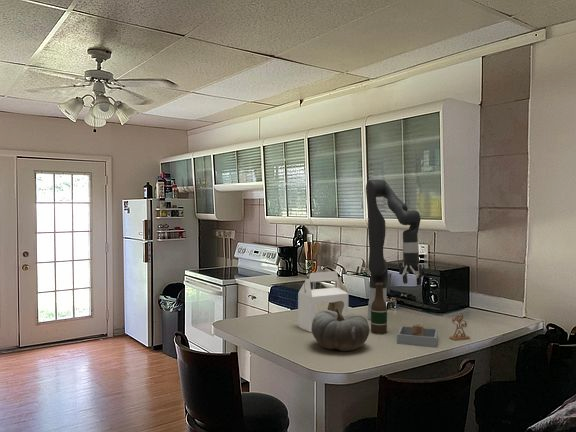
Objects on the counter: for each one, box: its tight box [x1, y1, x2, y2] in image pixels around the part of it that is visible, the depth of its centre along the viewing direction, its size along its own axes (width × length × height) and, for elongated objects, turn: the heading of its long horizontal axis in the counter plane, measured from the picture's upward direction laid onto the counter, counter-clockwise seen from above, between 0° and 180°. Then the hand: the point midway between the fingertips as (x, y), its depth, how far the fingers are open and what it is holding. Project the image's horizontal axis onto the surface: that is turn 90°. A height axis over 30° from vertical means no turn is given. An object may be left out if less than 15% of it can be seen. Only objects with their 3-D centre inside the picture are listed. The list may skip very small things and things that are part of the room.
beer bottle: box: [370, 283, 388, 335], centre depth 239 cm, size 8×8×24 cm
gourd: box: [311, 308, 371, 352], centre depth 215 cm, size 25×25×17 cm
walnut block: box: [411, 323, 424, 336], centre depth 225 cm, size 4×4×7 cm
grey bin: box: [396, 325, 439, 348], centre depth 225 cm, size 17×17×4 cm
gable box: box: [297, 270, 349, 334], centre depth 248 cm, size 22×13×28 cm, turn 118°
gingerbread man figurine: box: [448, 312, 471, 341], centre depth 229 cm, size 9×4×12 cm, turn 112°
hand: (412, 284), depth 241 cm, fingers open, 8 cm apart
